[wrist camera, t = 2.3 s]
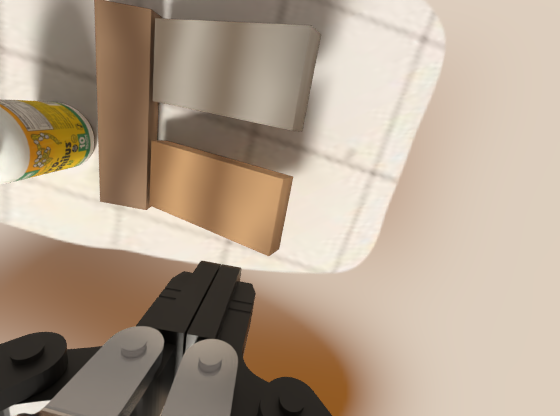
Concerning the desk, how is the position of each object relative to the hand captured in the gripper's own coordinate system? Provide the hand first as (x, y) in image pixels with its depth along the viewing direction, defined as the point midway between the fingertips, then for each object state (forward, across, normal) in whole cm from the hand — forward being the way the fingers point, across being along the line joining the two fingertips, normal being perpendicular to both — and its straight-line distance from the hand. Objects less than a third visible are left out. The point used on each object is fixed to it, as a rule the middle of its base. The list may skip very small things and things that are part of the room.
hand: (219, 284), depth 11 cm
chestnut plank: (+12, +3, 0) cm, 13 cm away
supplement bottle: (+15, +18, -1) cm, 23 cm away
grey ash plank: (+12, +3, -8) cm, 15 cm away
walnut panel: (+15, +12, -4) cm, 19 cm away
